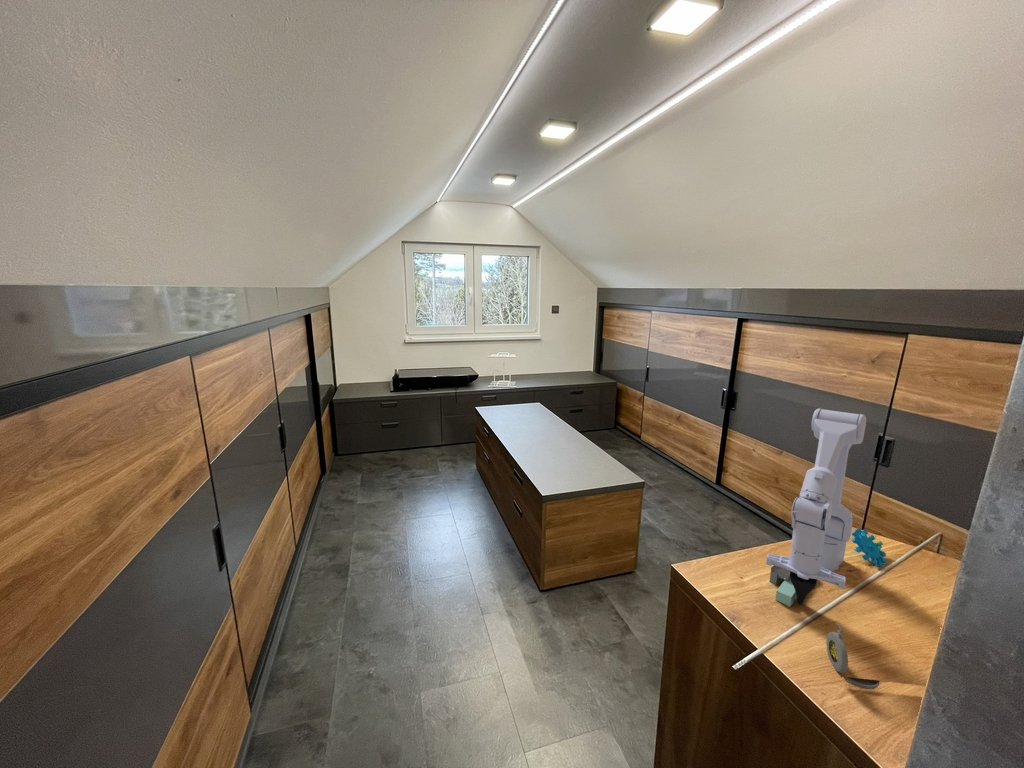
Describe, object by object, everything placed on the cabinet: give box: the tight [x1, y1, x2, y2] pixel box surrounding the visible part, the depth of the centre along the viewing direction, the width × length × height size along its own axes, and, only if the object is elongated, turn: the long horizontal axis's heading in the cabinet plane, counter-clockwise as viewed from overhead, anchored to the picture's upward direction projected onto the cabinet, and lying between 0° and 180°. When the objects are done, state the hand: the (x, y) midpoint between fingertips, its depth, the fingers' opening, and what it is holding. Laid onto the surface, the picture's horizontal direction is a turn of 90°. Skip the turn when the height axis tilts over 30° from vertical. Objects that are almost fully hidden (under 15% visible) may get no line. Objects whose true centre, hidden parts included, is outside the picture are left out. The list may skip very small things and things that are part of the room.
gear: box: [851, 528, 888, 568], centre depth 112 cm, size 11×6×10 cm
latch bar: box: [775, 578, 797, 607], centre depth 99 cm, size 17×4×4 cm, turn 129°
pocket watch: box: [826, 622, 881, 690], centre depth 77 cm, size 8×8×10 cm
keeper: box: [769, 565, 790, 586], centre depth 101 cm, size 4×4×5 cm
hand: (800, 601), depth 94 cm, fingers closed
